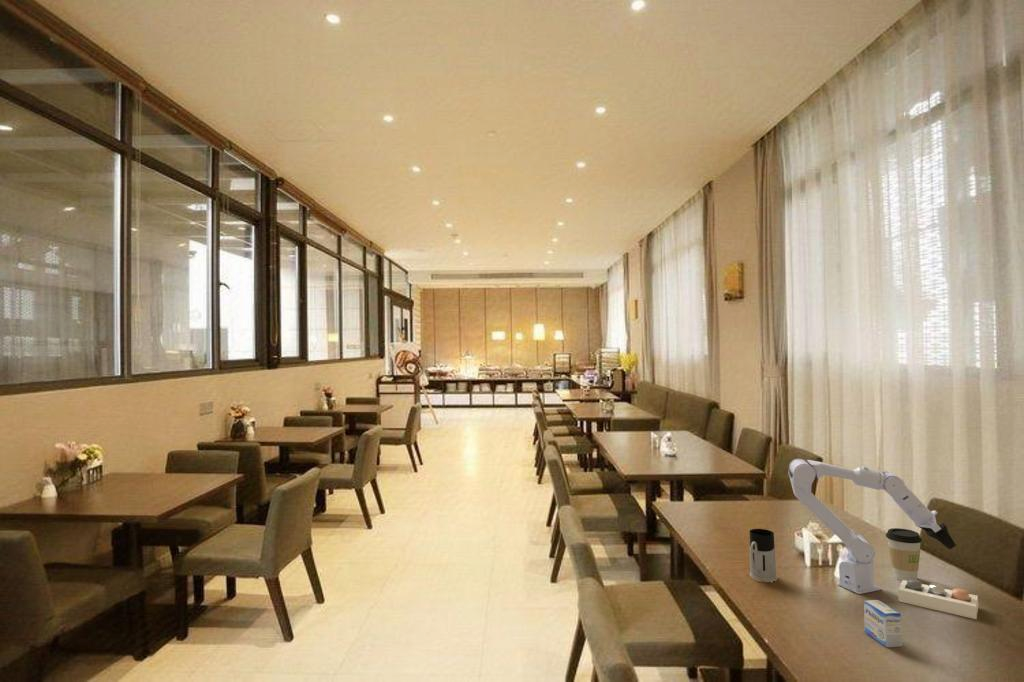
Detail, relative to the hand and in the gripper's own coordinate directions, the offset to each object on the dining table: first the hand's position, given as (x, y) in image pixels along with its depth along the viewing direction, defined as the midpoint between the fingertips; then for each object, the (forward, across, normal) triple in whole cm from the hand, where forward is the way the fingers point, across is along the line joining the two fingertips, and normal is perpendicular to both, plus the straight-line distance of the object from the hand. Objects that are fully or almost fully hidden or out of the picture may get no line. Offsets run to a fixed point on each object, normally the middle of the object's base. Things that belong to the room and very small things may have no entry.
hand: (946, 542), depth 171 cm
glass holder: (-21, -1, +51) cm, 56 cm away
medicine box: (-5, -34, +31) cm, 47 cm away
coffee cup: (+7, +11, +16) cm, 21 cm away
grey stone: (+3, -6, +17) cm, 18 cm away
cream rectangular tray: (+8, -8, +14) cm, 19 cm away
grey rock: (+7, -8, +13) cm, 17 cm away
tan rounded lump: (+10, -10, +9) cm, 17 cm away
